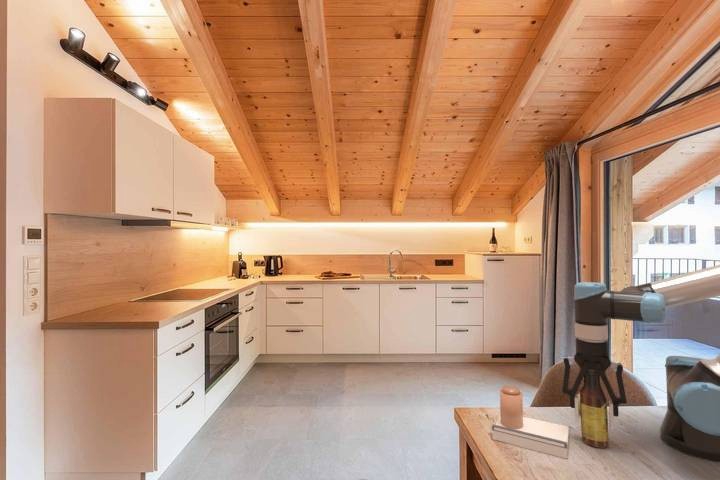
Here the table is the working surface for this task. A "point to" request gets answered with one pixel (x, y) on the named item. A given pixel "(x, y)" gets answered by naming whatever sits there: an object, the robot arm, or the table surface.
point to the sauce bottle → (593, 411)
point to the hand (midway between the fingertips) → (594, 423)
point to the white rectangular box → (535, 436)
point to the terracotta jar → (511, 407)
